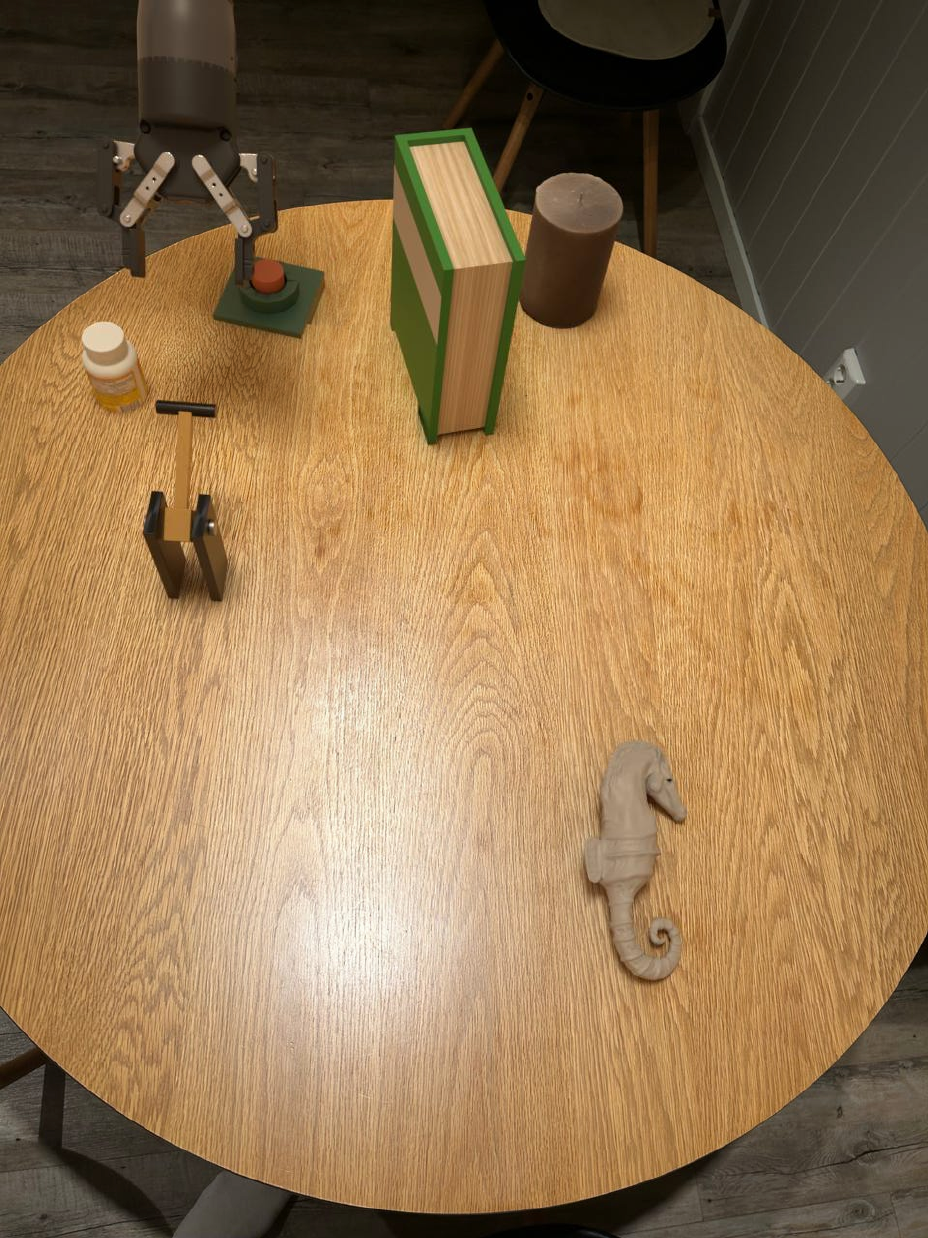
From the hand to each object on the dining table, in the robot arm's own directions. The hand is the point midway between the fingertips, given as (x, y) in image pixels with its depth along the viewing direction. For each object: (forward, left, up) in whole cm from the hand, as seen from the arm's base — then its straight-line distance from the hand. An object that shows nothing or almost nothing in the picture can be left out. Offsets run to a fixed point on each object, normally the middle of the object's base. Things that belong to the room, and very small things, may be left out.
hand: (190, 281), depth 79 cm
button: (-1, +20, -19) cm, 27 cm away
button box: (-1, +20, -22) cm, 30 cm away
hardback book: (+20, +15, -22) cm, 34 cm away
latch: (+2, -12, -10) cm, 16 cm away
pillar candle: (+31, +31, -22) cm, 49 cm away
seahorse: (+48, -34, -22) cm, 63 cm away
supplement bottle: (-12, +3, -22) cm, 25 cm away
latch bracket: (+3, -17, -22) cm, 28 cm away
